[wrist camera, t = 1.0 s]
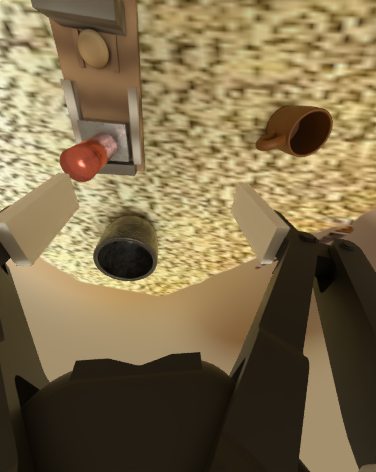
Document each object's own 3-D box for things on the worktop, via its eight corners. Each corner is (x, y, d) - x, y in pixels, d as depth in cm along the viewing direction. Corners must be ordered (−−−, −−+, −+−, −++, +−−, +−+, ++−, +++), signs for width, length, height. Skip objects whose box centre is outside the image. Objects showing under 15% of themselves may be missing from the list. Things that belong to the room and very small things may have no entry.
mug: (245, 157, 41) (262, 170, 34) (242, 119, 36) (261, 125, 29) (299, 140, 40) (329, 150, 32) (303, 99, 35) (338, 99, 28)
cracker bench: (47, -15, 25) (-2, -59, 18) (136, 1, 26) (124, -34, 19) (89, 164, 39) (71, 179, 32) (145, 168, 41) (139, 183, 34)
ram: (85, 117, 32) (32, 131, 20) (129, 122, 33) (104, 137, 21) (93, 153, 36) (52, 183, 23) (132, 156, 37) (112, 187, 24)
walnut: (91, 24, 26) (81, 14, 23) (116, 52, 28) (110, 46, 25) (79, 52, 28) (67, 46, 24) (103, 77, 29) (95, 74, 26)
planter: (103, 238, 52) (86, 272, 41) (116, 198, 45) (100, 228, 34) (149, 252, 56) (144, 287, 46) (167, 218, 49) (167, 250, 39)
